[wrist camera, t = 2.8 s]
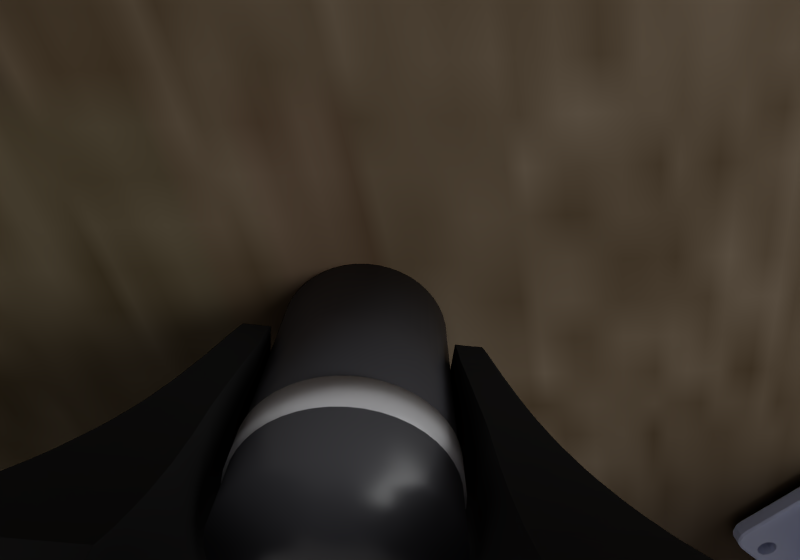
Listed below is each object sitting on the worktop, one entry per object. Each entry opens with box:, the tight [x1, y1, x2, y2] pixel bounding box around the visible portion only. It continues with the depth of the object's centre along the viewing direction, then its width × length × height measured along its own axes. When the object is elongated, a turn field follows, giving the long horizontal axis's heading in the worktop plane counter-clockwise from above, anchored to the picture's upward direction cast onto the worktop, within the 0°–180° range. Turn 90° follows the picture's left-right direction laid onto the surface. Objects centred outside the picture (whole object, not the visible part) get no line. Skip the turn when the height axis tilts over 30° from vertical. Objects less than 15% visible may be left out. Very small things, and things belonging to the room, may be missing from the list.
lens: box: [203, 264, 470, 560], centre depth 11 cm, size 4×4×6 cm
